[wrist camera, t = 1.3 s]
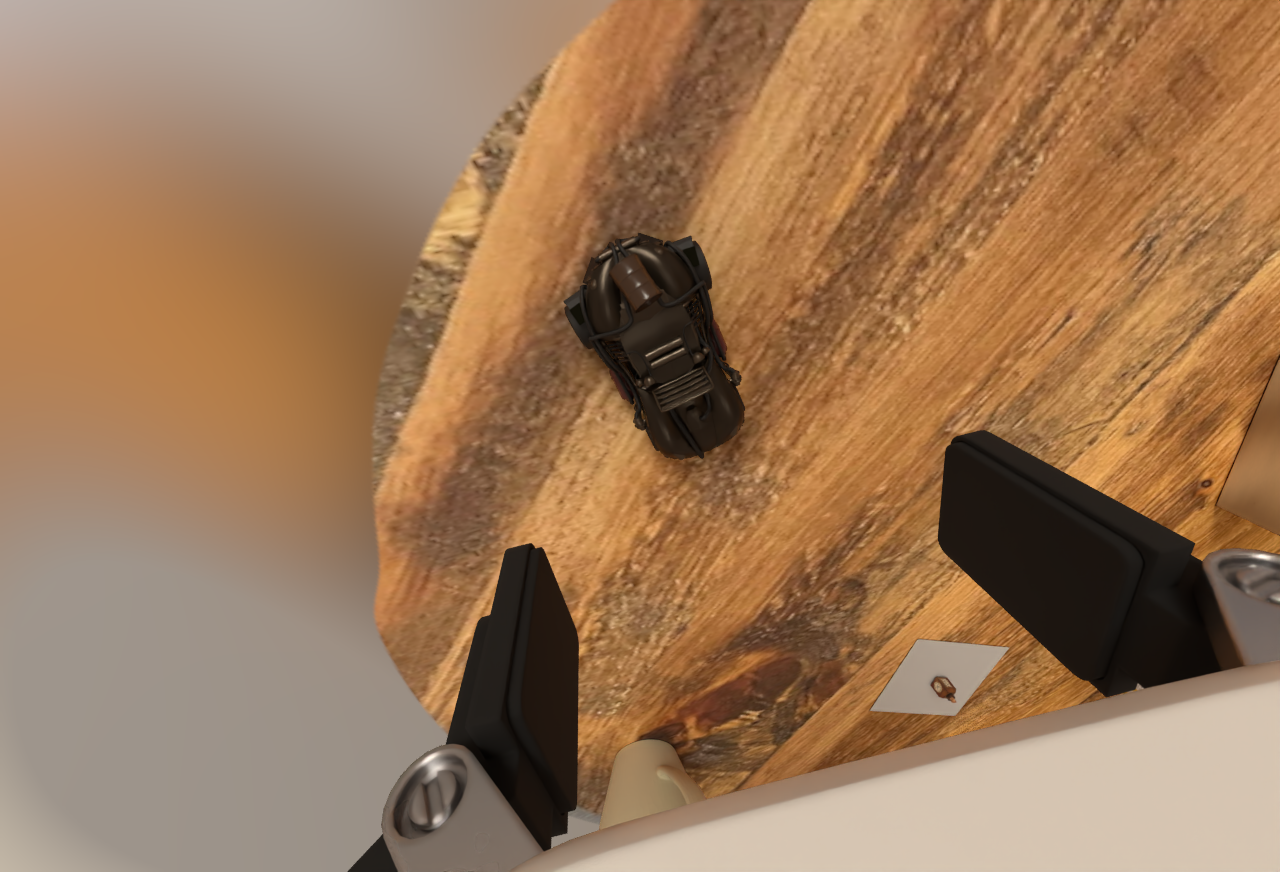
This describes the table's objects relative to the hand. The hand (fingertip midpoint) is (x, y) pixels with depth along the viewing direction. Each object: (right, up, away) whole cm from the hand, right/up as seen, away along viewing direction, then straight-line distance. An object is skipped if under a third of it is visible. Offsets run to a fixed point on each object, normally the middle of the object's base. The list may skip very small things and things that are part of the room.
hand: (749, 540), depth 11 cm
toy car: (-1, +6, +12) cm, 13 cm away
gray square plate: (+20, -16, +25) cm, 36 cm away
